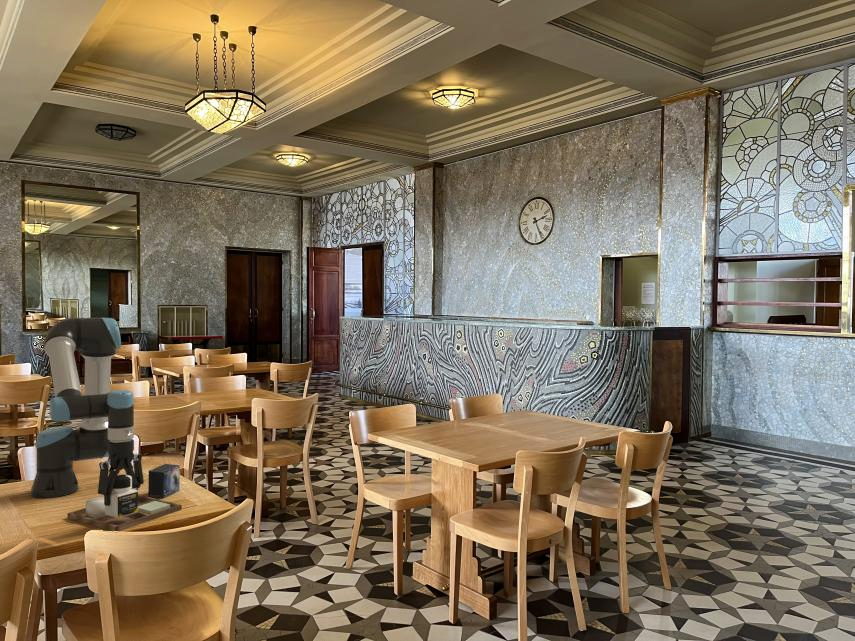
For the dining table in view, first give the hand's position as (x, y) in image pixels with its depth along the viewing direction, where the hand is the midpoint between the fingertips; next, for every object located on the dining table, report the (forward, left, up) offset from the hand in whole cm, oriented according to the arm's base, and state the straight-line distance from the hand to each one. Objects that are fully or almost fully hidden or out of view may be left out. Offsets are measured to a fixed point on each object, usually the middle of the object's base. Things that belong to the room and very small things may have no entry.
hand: (121, 511), depth 208 cm
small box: (-13, +27, -5) cm, 30 cm away
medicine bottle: (0, 0, -1) cm, 1 cm away
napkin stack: (0, +12, -4) cm, 12 cm away
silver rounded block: (-12, 0, -4) cm, 12 cm away
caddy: (-6, +6, -4) cm, 9 cm away
